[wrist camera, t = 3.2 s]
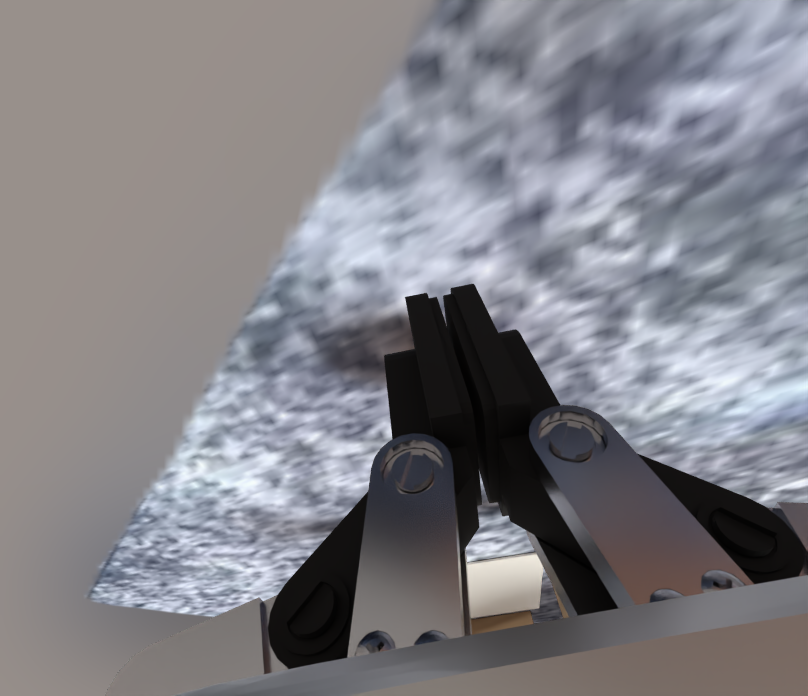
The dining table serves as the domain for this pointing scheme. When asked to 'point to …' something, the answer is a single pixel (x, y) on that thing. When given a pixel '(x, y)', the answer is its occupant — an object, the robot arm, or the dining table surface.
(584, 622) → the robot arm
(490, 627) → the stopper rail
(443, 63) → the dining table surface
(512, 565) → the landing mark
